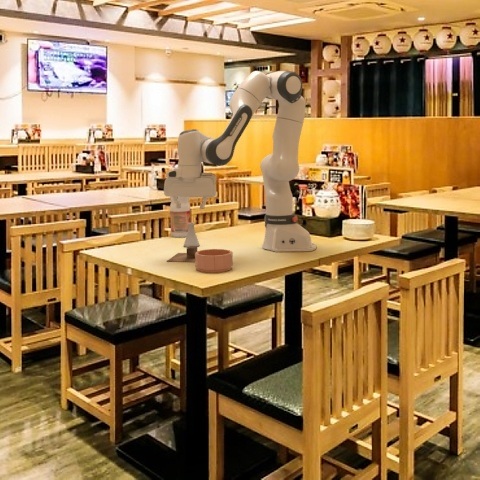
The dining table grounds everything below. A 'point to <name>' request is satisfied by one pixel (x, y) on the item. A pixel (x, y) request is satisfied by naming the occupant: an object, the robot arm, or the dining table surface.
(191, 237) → the flask
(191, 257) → the lid
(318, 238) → the dining table surface
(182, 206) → the fruit juice
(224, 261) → the bowl
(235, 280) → the dining table surface
